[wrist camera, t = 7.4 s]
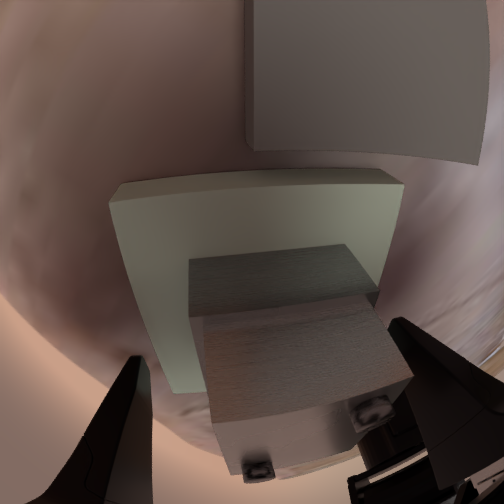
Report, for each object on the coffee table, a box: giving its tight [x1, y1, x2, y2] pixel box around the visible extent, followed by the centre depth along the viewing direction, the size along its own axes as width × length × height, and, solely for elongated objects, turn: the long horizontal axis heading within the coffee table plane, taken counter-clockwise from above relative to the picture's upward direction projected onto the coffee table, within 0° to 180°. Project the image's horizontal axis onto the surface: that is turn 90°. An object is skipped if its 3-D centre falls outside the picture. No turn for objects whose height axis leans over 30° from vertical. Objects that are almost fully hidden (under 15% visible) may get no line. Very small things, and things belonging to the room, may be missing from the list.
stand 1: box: [244, 0, 490, 165], centre depth 6 cm, size 10×9×2 cm
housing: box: [188, 244, 414, 483], centre depth 8 cm, size 5×6×6 cm
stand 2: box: [108, 168, 405, 394], centre depth 11 cm, size 10×9×2 cm
